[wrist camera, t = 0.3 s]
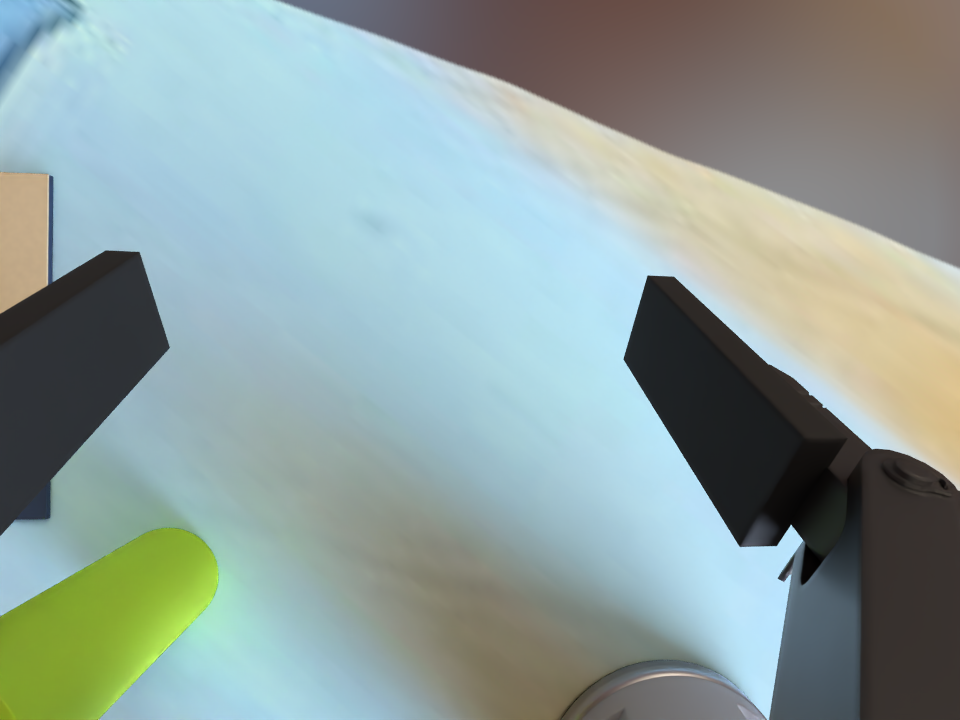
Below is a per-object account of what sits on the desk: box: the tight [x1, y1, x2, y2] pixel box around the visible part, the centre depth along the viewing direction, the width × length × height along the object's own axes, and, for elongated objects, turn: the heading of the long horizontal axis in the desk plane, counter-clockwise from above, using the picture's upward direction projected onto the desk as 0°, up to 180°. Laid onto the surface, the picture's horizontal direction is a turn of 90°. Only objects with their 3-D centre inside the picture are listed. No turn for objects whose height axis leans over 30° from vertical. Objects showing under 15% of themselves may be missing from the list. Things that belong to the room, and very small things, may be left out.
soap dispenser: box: [0, 528, 218, 720], centre depth 18 cm, size 6×7×20 cm
